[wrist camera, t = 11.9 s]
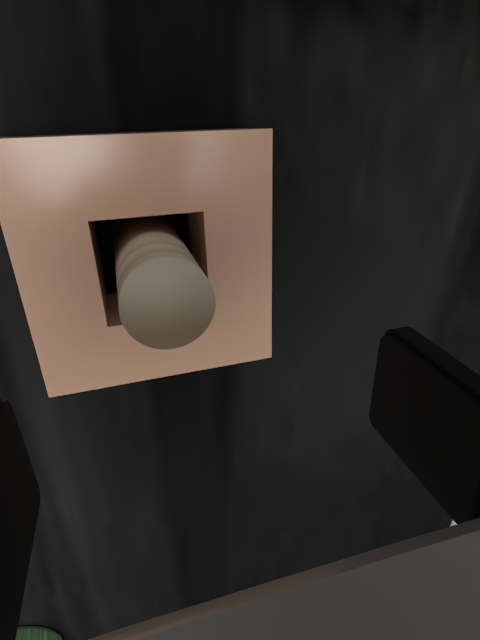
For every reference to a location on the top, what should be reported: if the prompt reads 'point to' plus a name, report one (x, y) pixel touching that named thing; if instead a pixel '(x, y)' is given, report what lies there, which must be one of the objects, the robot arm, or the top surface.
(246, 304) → the socket
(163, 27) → the top surface
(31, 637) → the ramekin
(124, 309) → the peg
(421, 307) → the top surface
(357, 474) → the top surface
